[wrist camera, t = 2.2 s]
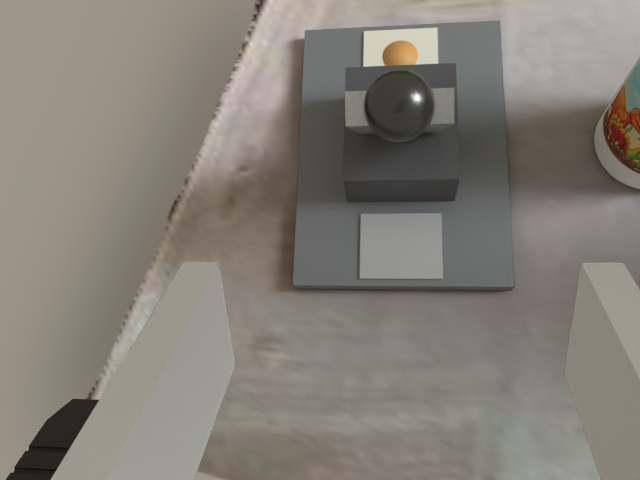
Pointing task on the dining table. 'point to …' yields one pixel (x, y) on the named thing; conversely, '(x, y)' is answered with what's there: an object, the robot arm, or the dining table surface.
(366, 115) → the toggle lever
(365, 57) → the switch board
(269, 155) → the dining table surface
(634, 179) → the milk bottle
